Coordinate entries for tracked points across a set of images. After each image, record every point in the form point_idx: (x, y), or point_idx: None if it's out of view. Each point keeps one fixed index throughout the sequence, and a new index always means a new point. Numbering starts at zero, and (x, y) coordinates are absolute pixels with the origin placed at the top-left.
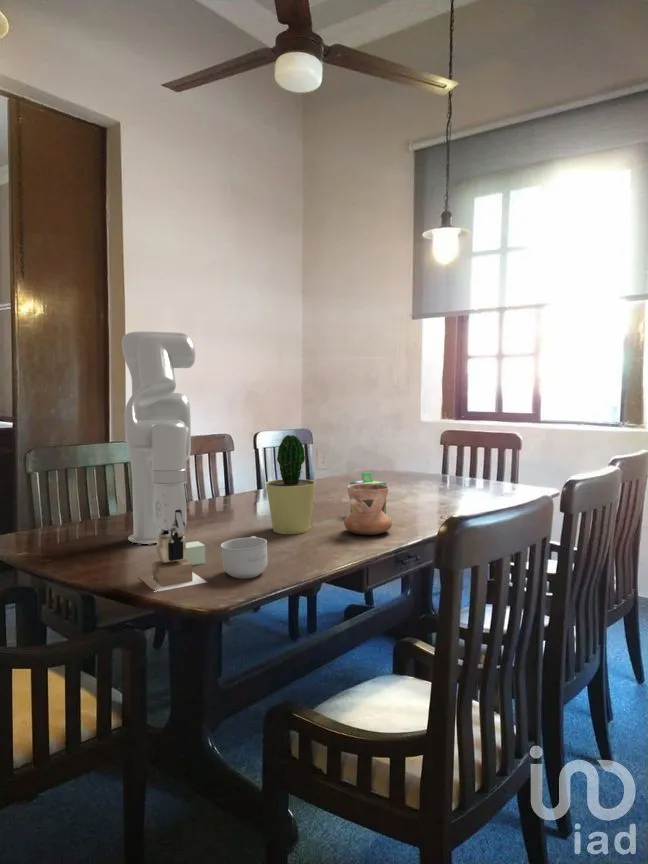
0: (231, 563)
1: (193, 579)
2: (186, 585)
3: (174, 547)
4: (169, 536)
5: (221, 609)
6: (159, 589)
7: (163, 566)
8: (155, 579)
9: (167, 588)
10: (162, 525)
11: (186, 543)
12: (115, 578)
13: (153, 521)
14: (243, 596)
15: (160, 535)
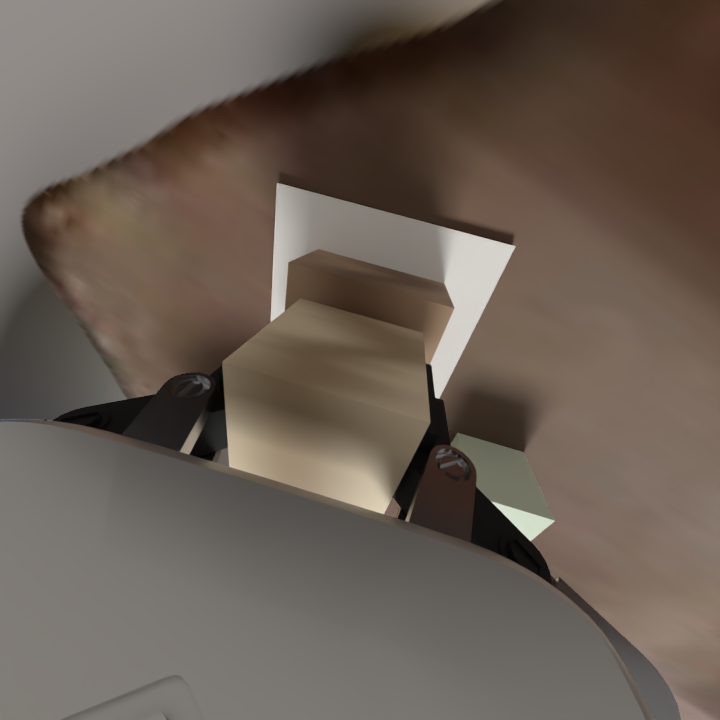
0: (220, 456)
1: None
2: (274, 317)
3: (218, 374)
4: (189, 414)
5: (46, 261)
6: (293, 219)
7: (319, 293)
8: (398, 272)
9: (284, 251)
10: (44, 481)
11: (524, 531)
12: (654, 162)
13: (551, 615)
14: (130, 362)
15: (406, 442)
